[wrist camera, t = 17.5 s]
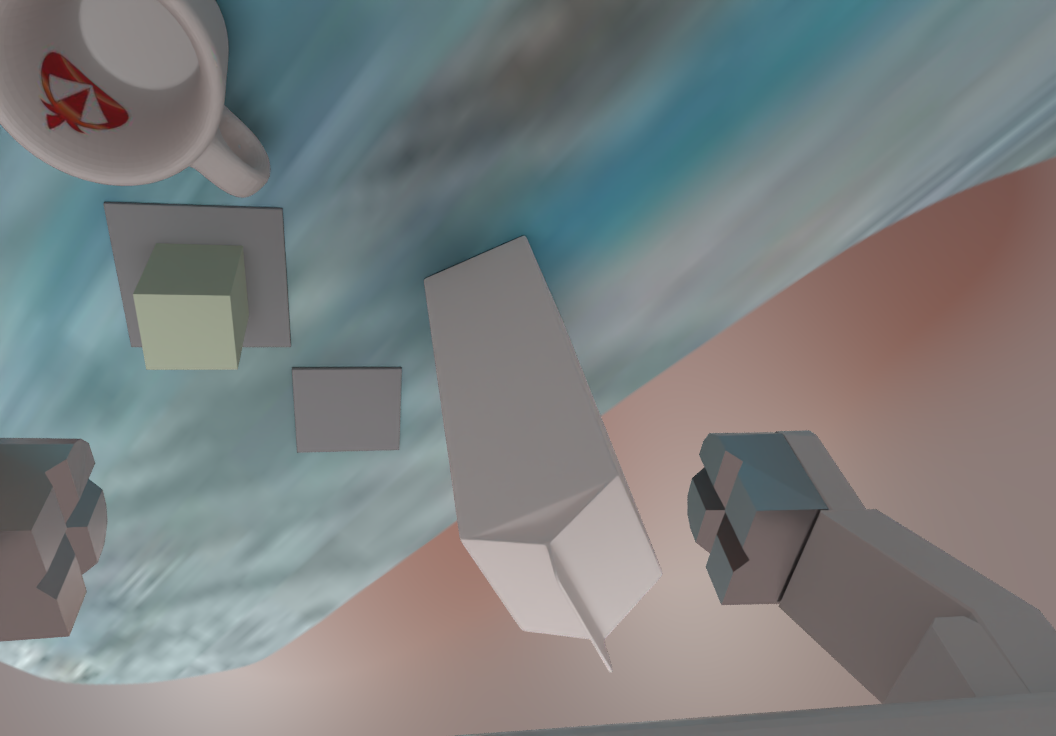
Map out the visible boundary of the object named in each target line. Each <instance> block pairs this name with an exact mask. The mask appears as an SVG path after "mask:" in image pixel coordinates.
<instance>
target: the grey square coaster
mask: <svg viewBox="0 0 1056 736" xmlns="http://www.w3.org/2000/svg"><path fill="white" fill-rule="evenodd" d="M401 373H402V368H401V367H341V368H292V377H293V393H294V409H295V425H296V441H297V453H298V452H337V451H375V450H399V439H400V406H401Z"/></svg>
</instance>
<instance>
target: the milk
mask: <svg viewBox="0 0 1056 736" xmlns="http://www.w3.org/2000/svg"><path fill="white" fill-rule="evenodd" d="M424 286H425V293H426V300H427V307H428V314H429V322H430V329H431V336H432V343H433V350H434V357H435V364H436V372H437V379H438V386H439V393H440V400H441V407H442V414H443V422H444V429H445V436H446V443H447V450H448V457H449V464H450V472H451V479H452V486H453V493H454V500H455V507H456V514H457V522H458V528H459V536H460V540H461V542H462V544H463V545H464V546H465V548H466V549H467V551H468V552H469V554H470V555H471V557H472V558H473V560H474V561H475V563H476V564H477V565H478V567H479V569H480V570H481V571H482V573H483V574H484V576H485V577H486V579H487V580H488V581H489V583H490V585H491V586H492V587H493V589H494V591H495V592H496V593H497V595H498V596H499V598H500V599H501V601H502V602H503V604H504V605H505V606H506V608H507V610H508V611H509V613H510V614H511V616H512V617H513V618H514V620H515V621H516V623H517V624H518V626H519V627H520V629H521V630H523V631H529V632H536V633H544V634H552V635H560V636H569V637H576V638H584V639H590V640H591V642H592V644H593V645H594V647H595V649H596V650H597V652H598V654H599V655H600V657H601V659H602V661H603V662H604V664H605V666H606V667H607V669H608V671H609V672H613V669H612V665H611V661H610V658H609V655H608V651H607V648H606V644H605V638H606V637H607V636H608V635H609V634H610V633H611V631H613V629H614V628H615V627H616V626H617V625H618V624H619V623H620V622H621V621H622V620H623V618H624V617H625V616H626V615H627V614H628V613H629V612H630V611H631V609H633V607H634V606H635V605H636V604H637V603H638V602H639V601H640V600H641V599H642V597H643V596H644V595H645V594H646V593H647V592H648V591H649V590H650V589H651V587H653V585H654V584H655V583H656V582H657V581H658V580H659V579H660V578H661V576H662V570H661V567H660V564H659V562H658V559H657V557H656V555H655V552H654V549H653V547H652V544H651V542H650V539H649V537H648V534H647V532H646V529H645V527H644V525H643V522H642V519H641V517H640V514H639V511H638V509H637V507H636V504H635V502H634V499H633V496H632V494H631V491H630V489H629V486H628V484H627V481H626V479H625V476H624V474H623V471H622V469H621V466H620V464H619V461H618V459H617V456H616V454H615V451H614V449H613V446H612V444H611V441H610V439H609V436H608V433H607V431H606V428H605V426H604V424H603V421H602V419H601V416H600V413H599V411H598V408H597V406H596V403H595V401H594V398H593V396H592V393H591V391H590V388H589V386H588V383H587V381H586V378H585V376H584V373H583V371H582V368H581V365H580V363H579V360H578V358H577V355H576V353H575V350H574V348H573V345H572V343H571V340H570V338H569V335H568V333H567V330H566V328H565V325H564V323H563V320H562V318H561V316H560V313H559V311H558V309H557V306H556V304H555V302H554V299H553V297H552V295H551V293H550V290H549V288H548V286H547V283H546V281H545V279H544V277H543V274H542V272H541V270H540V267H539V265H538V263H537V260H536V258H535V256H534V254H533V251H532V249H531V247H530V244H529V242H528V240H527V238H526V236H521V237H519V238H517V239H514V240H512V241H510V242H508V243H505V244H503V245H501V246H498V247H496V248H494V249H492V250H489V251H487V252H485V253H482V254H480V255H478V256H476V257H473V258H471V259H469V260H466V261H464V262H462V263H460V264H457V265H455V266H453V267H450V268H448V269H446V270H444V271H441V272H439V273H437V274H434V275H432V276H430V277H428V278H425V279H424Z"/></svg>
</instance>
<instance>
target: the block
mask: <svg viewBox="0 0 1056 736" xmlns="http://www.w3.org/2000/svg"><path fill="white" fill-rule="evenodd" d="M133 297H134V303H135V308H136V314H137V320H138V325H139V331H140V336H141V342H142V347H143V353H144V358H145V364H146V369H147V370H214V369H238V365H239V360H240V355H241V351H242V346H243V341H244V336H245V332H246V327H247V322H248V317H249V310H248V298H247V287H246V276H245V265H244V253H243V246H234V245H200V244H166V243H156V245H155V247H154V249H153V251H152V253H151V256H150V258H149V260H148V262H147V264H146V267H145V269H144V271H143V273H142V275H141V278H140V280H139V282H138V284H137V286H136V288H135V291H134V293H133Z"/></svg>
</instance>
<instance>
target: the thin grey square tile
mask: <svg viewBox="0 0 1056 736" xmlns="http://www.w3.org/2000/svg"><path fill="white" fill-rule="evenodd" d="M103 204H104V209H105V214H106V219H107V225H108V230H109V235H110V240H111V245H112V250H113V255H114V260H115V266H116V271H117V276H118V281H119V286H120V291H121V296H122V301H123V307H124V312H125V317H126V322H127V327H128V332H129V337H130V342H131V347H142V342H141V336H140V331H139V325H138V320H137V314H136V308H135V303H134V297H133V293H134V291H135V288H136V286H137V284H138V282H139V280H140V278H141V275H142V273H143V271H144V269H145V267H146V264H147V262H148V260H149V258H150V256H151V253H152V251H153V249H154V247H155V245H156V243H166V244H200V245H234V246H243V253H244V265H245V276H246V287H247V298H248V310H249V317H248V322H247V327H246V332H245V336H244V341H243V346H242V347H291V339H290V323H289V307H288V291H287V275H286V259H285V243H284V227H283V211H282V208H267V207H239V206H210V205H181V204H153V203H124V202H104V203H103Z"/></svg>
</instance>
